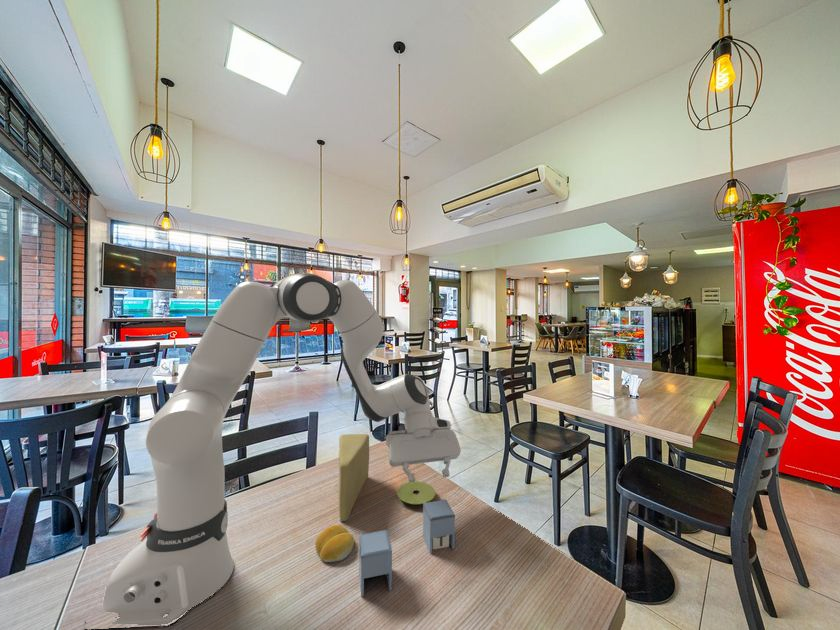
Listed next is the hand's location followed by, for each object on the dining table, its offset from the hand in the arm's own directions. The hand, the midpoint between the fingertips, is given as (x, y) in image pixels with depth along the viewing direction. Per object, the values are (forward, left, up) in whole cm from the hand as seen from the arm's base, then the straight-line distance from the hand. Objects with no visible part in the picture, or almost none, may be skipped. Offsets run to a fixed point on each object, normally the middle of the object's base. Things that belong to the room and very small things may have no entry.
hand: (429, 479), depth 82 cm
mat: (-1, +10, -11) cm, 15 cm away
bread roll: (-24, -4, -11) cm, 27 cm away
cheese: (-20, +16, -11) cm, 28 cm away
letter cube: (0, -8, -11) cm, 14 cm away
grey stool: (0, -8, -11) cm, 13 cm away
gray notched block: (-16, -15, -11) cm, 24 cm away
